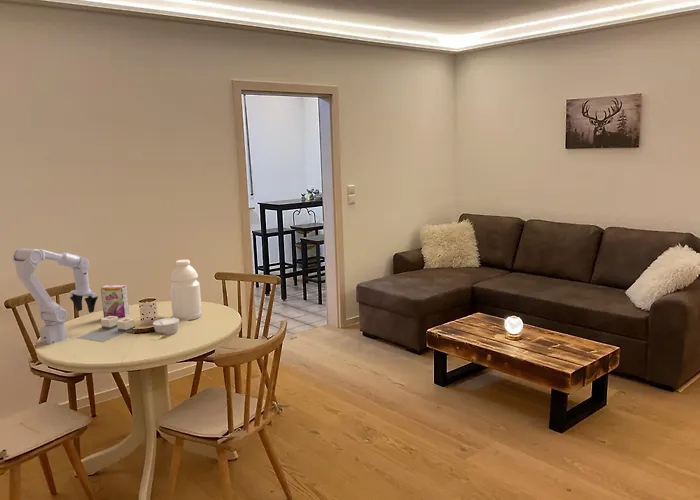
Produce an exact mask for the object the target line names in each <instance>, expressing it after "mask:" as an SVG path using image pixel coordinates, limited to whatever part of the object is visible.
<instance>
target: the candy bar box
mask: <svg viewBox="0 0 700 500" xmlns="http://www.w3.org/2000/svg"><path fill="white" fill-rule="evenodd" d="M127 287H128V286H127V285H125V284H123V285H119V284H118V285H108V284H107V285H103V286H101V287H100V293H101V302H102V311H103V318H105V317H108V316H115V317H118V318H127V317H128V316H129V315H130V314H131V313H130V306H129V297H128V288H127Z"/></svg>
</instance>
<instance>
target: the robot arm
mask: <svg viewBox="0 0 700 500" xmlns="http://www.w3.org/2000/svg"><path fill="white" fill-rule="evenodd" d="M44 260H49V261H53V262H56V263H57V264H58V265H60V266H62V267H63V266H64V267H68V268H70V269H72V270H73V271H72V272H73V277H74V285H75V289H73V290H70V293H69V294H70V296H69V299H70V300H71V301H72V302H73V304H74V307H75V309H76V311H77V312H80V311H82V310H83V297H85V298H84V301H85V303H86V306H87V309H88V313H93V312H95V307H96V303H97V299H98V297H99V296H98V295H97V292H94V291H93V290H92V289H90V280H89V267H90V262H91V261H89V259H88V258H87V256H82V255H81V256H79V255H78V254H77V253H74V254H73V253H70V252H69V251H64V252H60V253H56V252H53V251H50V250H46V249H39V248H38V249H37V248H24V247H20V248H16V250H15V251H14V253H13V256H12V261H13V262H14V265H15V270H16V275H17V277H18V279H19V280H20V282H22V284H23V285H24V287H25V288H26V290H27V291H28V292H29V294H30V295H31V296H32V298H33V299H34V301H35V302H36V303H37V305H38V306H39V308H38V312H39V315H40V319H41V320H43V321H44V325H43V326H41V327H40V328H39V336H40V343H42V344H45V345H46V344H48V345H53V344H55V343H58V342H61V341H64V340H66V339H67V333H66V325H65V323H66V320H67V319H68V318H67V317H68V312H67V310H66V309H65V308H63V307H61V305H60V304H59V303H57V302H55V301H54V300H53V299H52V298H51V296H50V294H49V293H48V291H47V290H46V289H45V287H44V286H43V285H42V283H41V282H40V280H39V279H38V277H37V276H36V275H35V271H36V270H37V269H38V267H39V265H40V263H41V262H42V261H44Z"/></svg>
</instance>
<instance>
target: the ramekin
mask: <svg viewBox="0 0 700 500" xmlns="http://www.w3.org/2000/svg"><path fill="white" fill-rule="evenodd" d="M179 325H180V320H179V319H177V318H173V317H164V318H159V319H156V320H154V321H153V322H152V326H153V329H154V331H155V332H156V333H161V334H160V336H161V337H163V336H170V335H174V334H176V333H178V331H179V327H180V326H179Z"/></svg>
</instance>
